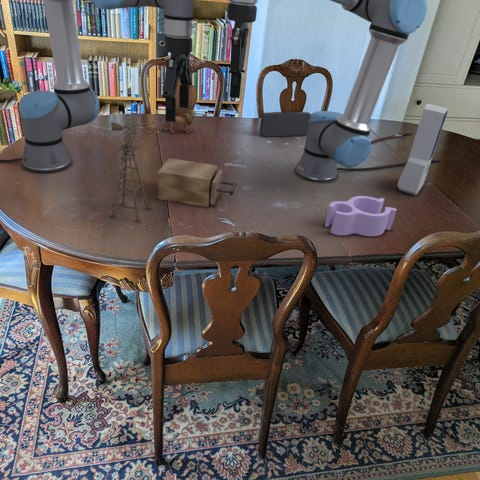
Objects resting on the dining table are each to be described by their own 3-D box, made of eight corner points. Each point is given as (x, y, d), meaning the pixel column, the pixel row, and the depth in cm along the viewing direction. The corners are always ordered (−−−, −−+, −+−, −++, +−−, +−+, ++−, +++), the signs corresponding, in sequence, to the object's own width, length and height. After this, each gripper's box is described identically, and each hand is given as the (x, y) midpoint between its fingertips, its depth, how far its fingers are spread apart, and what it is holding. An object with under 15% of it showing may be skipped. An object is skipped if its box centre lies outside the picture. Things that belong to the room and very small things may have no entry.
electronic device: (415, 196, 164) (443, 113, 148) (394, 190, 167) (419, 107, 151) (423, 185, 173) (451, 105, 157) (404, 179, 176) (428, 100, 160)
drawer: (236, 193, 152) (239, 172, 148) (231, 207, 144) (233, 185, 140) (177, 183, 154) (177, 162, 150) (168, 197, 146) (168, 175, 142)
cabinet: (215, 191, 154) (217, 165, 149) (207, 207, 145) (209, 180, 139) (168, 184, 155) (169, 157, 150) (158, 199, 146) (158, 171, 141)
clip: (337, 240, 135) (342, 219, 131) (318, 218, 145) (322, 198, 141) (395, 233, 141) (402, 213, 137) (373, 213, 151) (378, 194, 147)
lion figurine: (193, 128, 201) (194, 107, 196) (196, 133, 197) (197, 112, 192) (159, 129, 196) (159, 108, 192) (162, 134, 192) (162, 112, 187)
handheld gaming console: (306, 133, 210) (309, 111, 204) (308, 135, 207) (312, 113, 202) (258, 134, 202) (261, 112, 197) (260, 137, 200) (263, 114, 195)
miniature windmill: (137, 222, 133) (134, 119, 117) (109, 216, 134) (102, 114, 118) (149, 207, 141) (147, 109, 125) (122, 202, 142) (117, 104, 126)
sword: (407, 132, 223) (408, 129, 223) (413, 134, 221) (413, 131, 221) (364, 143, 208) (365, 141, 207) (370, 146, 206) (370, 143, 205)
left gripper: (178, 45, 114) (177, 129, 125) (203, 31, 135) (200, 104, 146) (149, 41, 115) (150, 125, 126) (178, 28, 136) (177, 100, 147)
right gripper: (253, 8, 112) (243, 105, 125) (260, 2, 123) (251, 92, 136) (222, 4, 113) (216, 101, 126) (232, -1, 124) (226, 89, 136)
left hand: (177, 114), depth 136 cm, fingers open, 13 cm apart
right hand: (234, 96), depth 131 cm, fingers closed
